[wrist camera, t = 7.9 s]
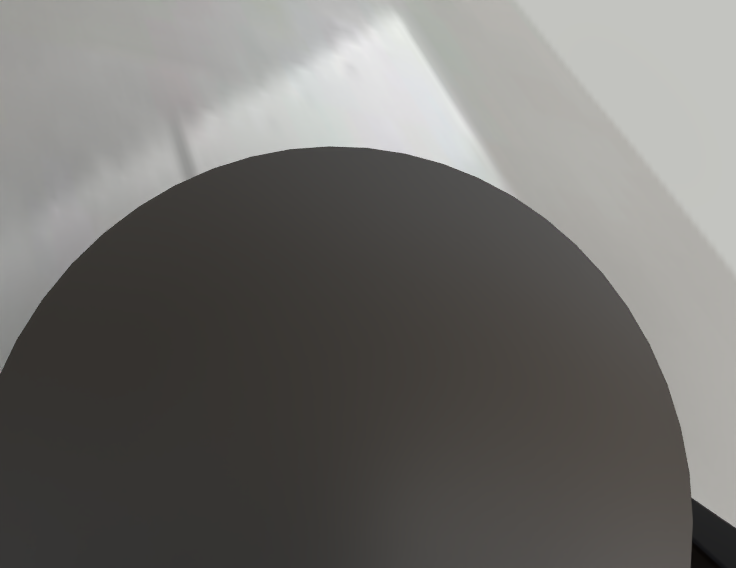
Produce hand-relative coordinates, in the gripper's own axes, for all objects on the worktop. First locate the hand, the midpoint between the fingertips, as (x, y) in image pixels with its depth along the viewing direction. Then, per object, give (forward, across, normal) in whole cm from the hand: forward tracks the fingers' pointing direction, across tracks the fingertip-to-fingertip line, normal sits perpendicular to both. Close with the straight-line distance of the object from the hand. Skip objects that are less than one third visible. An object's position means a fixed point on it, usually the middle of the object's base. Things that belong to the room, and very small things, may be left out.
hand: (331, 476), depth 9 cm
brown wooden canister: (+5, 0, +5) cm, 7 cm away
